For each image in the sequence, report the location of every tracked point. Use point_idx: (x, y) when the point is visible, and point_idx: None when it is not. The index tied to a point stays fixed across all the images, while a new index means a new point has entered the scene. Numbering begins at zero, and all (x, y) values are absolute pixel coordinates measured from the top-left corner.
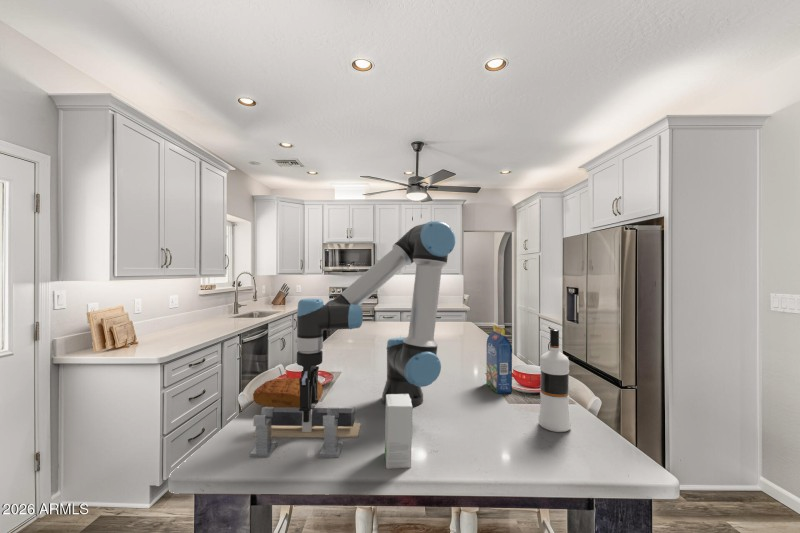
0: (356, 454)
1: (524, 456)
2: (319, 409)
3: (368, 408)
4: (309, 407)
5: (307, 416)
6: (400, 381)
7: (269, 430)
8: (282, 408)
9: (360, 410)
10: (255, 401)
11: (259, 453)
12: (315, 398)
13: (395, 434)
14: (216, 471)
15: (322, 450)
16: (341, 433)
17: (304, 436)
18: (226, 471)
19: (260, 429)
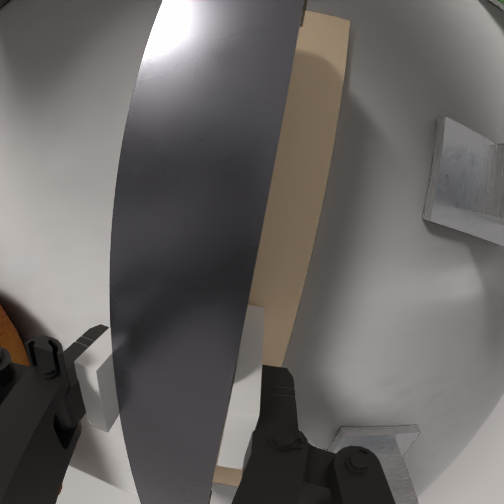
0: (495, 80)
1: None
2: (150, 312)
3: (21, 30)
4: (304, 464)
5: (293, 406)
6: None
7: (393, 497)
8: (152, 499)
9: (23, 55)
10: (61, 485)
11: (401, 454)
12: (34, 388)
13: None
14: (416, 484)
15: (488, 231)
16: (309, 100)
17: (289, 337)
18: (429, 472)
19: None
